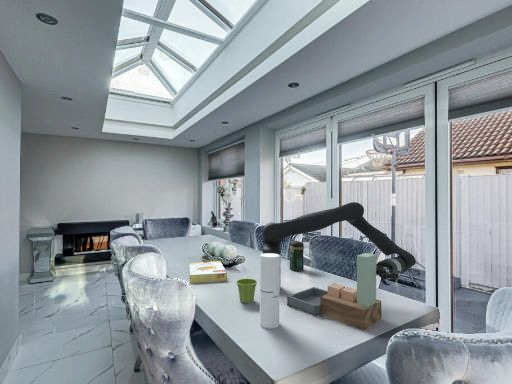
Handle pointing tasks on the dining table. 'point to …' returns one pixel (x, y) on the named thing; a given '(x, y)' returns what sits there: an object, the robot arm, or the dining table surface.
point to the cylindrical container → (269, 290)
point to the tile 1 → (335, 290)
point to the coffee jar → (296, 256)
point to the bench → (350, 312)
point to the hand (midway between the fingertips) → (371, 274)
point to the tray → (307, 300)
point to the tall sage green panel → (366, 279)
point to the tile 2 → (349, 294)
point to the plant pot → (246, 289)
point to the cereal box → (207, 272)
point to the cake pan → (206, 259)
